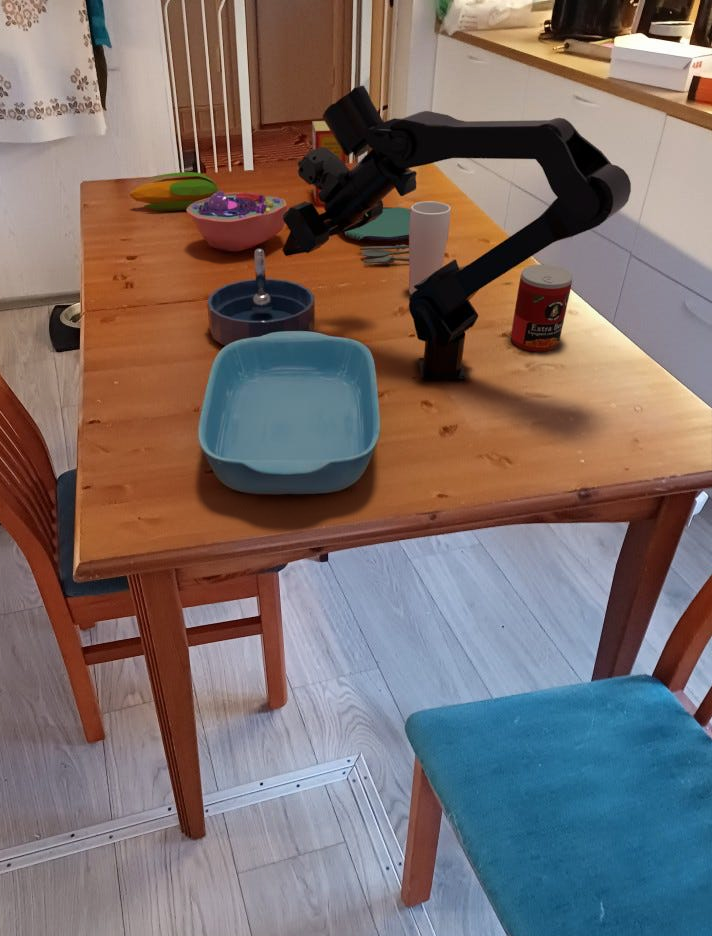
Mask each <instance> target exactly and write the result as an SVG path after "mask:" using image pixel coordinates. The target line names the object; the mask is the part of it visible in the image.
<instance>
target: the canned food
mask: <svg viewBox="0 0 712 936" xmlns="http://www.w3.org/2000/svg"><path fill="white" fill-rule="evenodd" d="M573 277H574V276H573V274H572V273H571V272H570V271H569V270H567V269H566V268H563V267H561V266H556V265H552V264H551V265H550V264H534V265H529V266H526V267H525V268H523V269H522V271H521V274H520V278H519V283H518V289H517V294H516V300H515V301H516V302H515V308H514V313H513V314H514V315H513V319H512V325H511V332H510V337H511V341H512V343H513V345H515V346H516V347H518V348H520V349H522V350H526V351H530V352H535V353H536V352H537V353H538V352H539V353H541V352H548V351H551V350H553V349H555V348H556V347H557V346H558V344H559V342H560V339H561V336H562V330H563V325H564V321H565V318H566V317H565V316H566V313H567V307H568V305H569V304H568V303H569V300H570V294H571V289H572V284H573Z"/></svg>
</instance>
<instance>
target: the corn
mask: <svg viewBox="0 0 712 936" xmlns="http://www.w3.org/2000/svg"><path fill="white" fill-rule="evenodd" d="M165 177H170V178H165ZM171 177H172V178H171ZM152 178H154V179H157V178H164V179H159V180H156V181H152V182H148V183H145V184H141V185H139V186H136V187H135V188H134V189H133V190H131V192H129V195H130V197H131V199H133V200H134V201H136V202H140V203H145V205H144V206H143V208H144V209H148V210H153V211H158V212H159V211H160V212H164V211H165V212H177V211H179V212H180V211H187V208H188V207H189V206H190V205H191V204H193V203H195V202H197V201H200V200H203V199H207V198H210V197H211V196H212V195H213V194H214V193H216V192H218V191H219V187H218V185H217V184H216V183H215V181H214V180H213V179H212V178H210V177H209V176H207V175H205V174H203V173H201V172H195V171H182V172H172V173H171V172H170V173H165V174H164V173H163V174H159V175H154V176H152Z"/></svg>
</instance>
